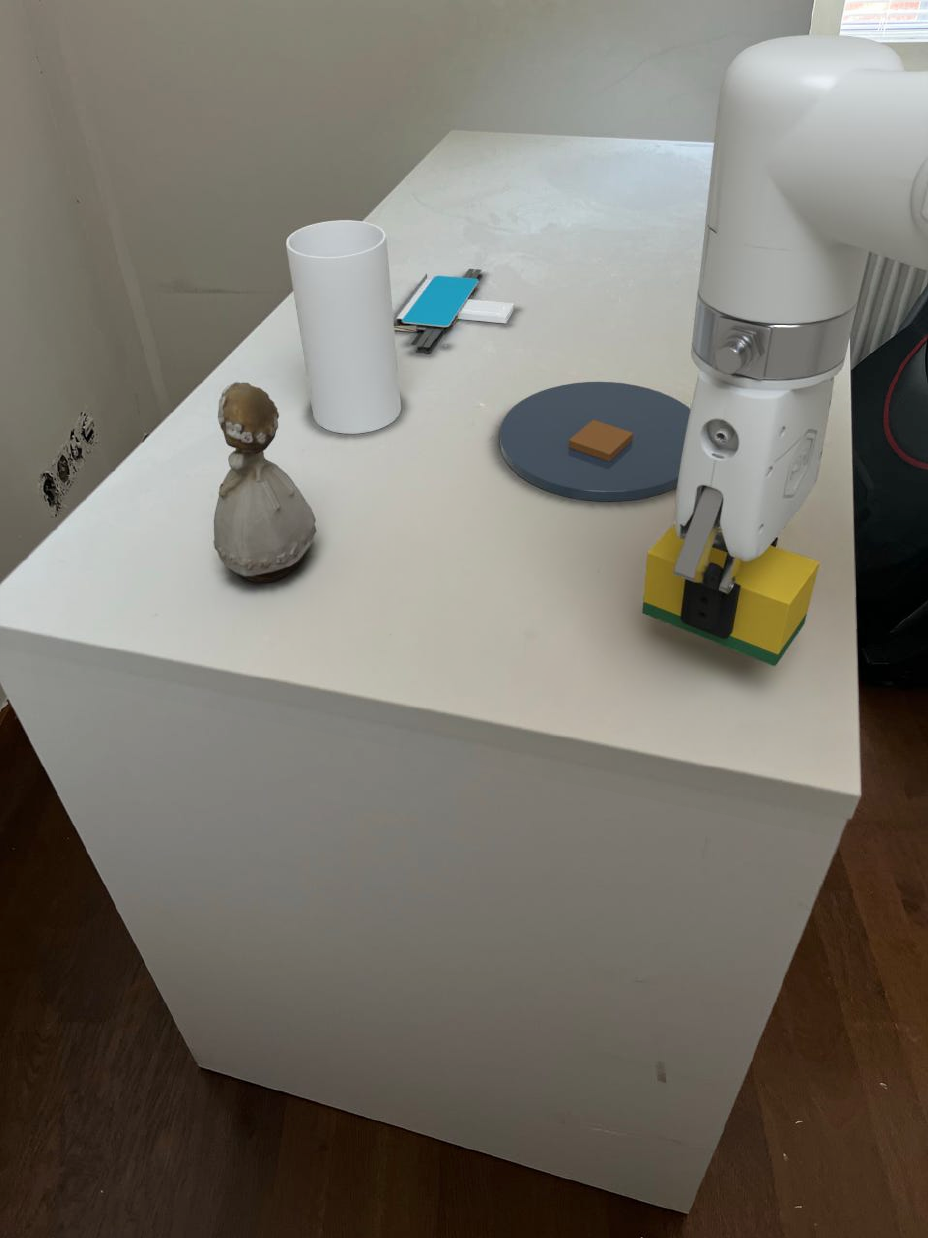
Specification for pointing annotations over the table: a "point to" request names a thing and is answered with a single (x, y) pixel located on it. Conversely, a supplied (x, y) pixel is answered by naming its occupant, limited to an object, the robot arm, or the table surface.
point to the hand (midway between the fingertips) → (724, 601)
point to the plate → (547, 462)
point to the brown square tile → (601, 440)
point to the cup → (346, 324)
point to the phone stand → (445, 308)
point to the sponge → (764, 604)
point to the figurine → (257, 494)
